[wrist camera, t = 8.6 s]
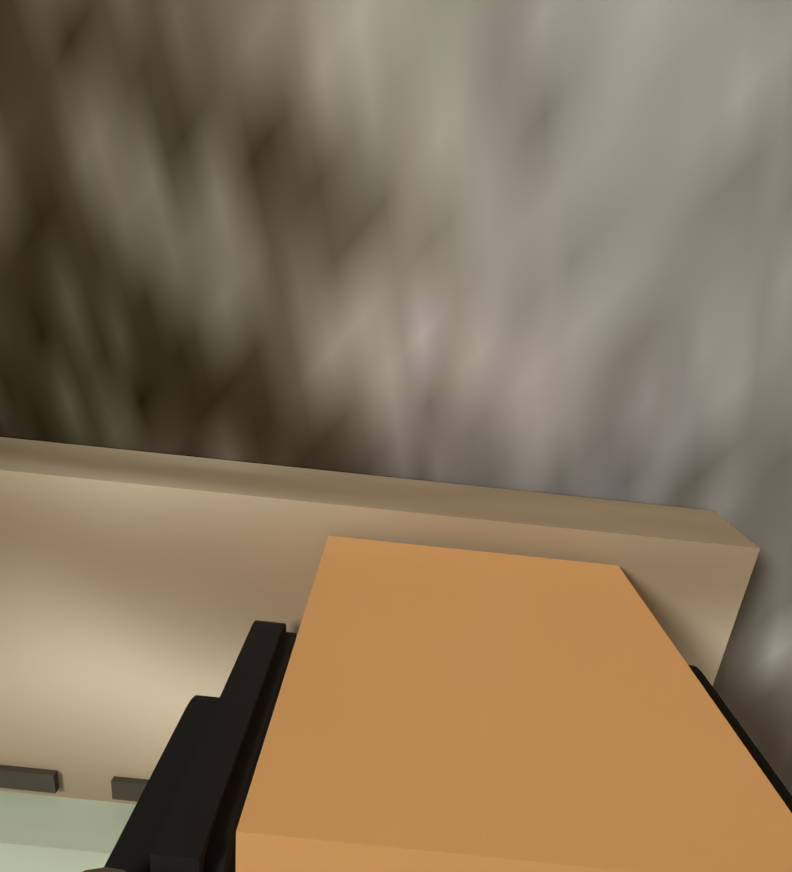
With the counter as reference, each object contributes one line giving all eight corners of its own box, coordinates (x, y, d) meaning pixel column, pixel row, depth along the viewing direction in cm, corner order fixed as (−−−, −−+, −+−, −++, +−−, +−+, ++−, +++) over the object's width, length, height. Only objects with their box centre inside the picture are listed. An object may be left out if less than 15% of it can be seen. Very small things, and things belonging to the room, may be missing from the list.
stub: (328, 535, 9) (235, 830, 4) (618, 565, 9) (848, 893, 4) (310, 796, 11) (231, 1207, 6) (552, 820, 11) (662, 1251, 6)
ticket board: (-492, 385, 10) (-759, 420, 8) (712, 510, 11) (800, 580, 8) (-287, 878, 15) (-422, 996, 12) (572, 964, 15) (603, 1098, 12)
